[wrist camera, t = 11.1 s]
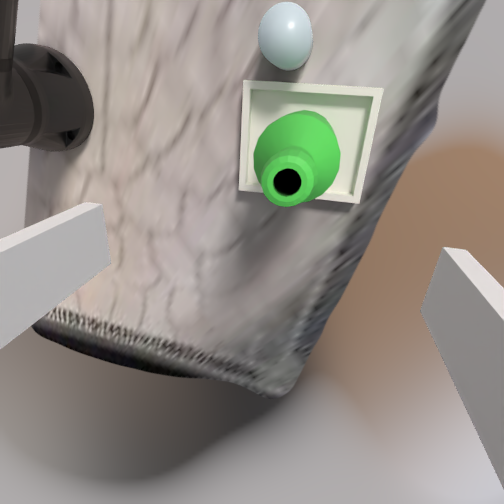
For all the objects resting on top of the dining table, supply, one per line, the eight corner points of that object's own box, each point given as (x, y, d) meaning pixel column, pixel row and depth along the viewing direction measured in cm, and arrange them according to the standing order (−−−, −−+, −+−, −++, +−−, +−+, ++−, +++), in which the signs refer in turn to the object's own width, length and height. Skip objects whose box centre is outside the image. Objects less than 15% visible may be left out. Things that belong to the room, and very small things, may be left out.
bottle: (290, 184, 49) (265, 253, 27) (262, 131, 47) (208, 160, 24) (345, 154, 46) (368, 205, 24) (317, 96, 43) (313, 92, 21)
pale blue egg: (265, 69, 44) (256, 64, 38) (269, 16, 41) (260, 1, 35) (309, 71, 43) (307, 67, 37) (316, 17, 40) (315, 2, 34)
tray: (242, 186, 51) (238, 190, 49) (247, 80, 45) (243, 79, 43) (357, 199, 49) (359, 203, 47) (380, 88, 42) (383, 88, 40)
